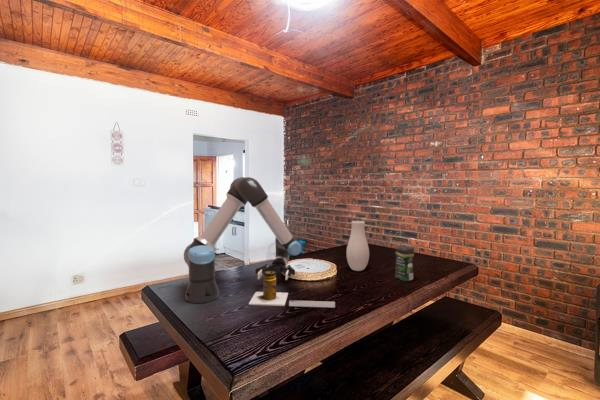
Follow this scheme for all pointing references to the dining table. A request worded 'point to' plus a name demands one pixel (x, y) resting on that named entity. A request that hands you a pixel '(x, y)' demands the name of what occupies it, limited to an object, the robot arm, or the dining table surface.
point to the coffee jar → (404, 263)
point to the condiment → (269, 287)
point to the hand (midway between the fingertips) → (272, 276)
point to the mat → (276, 302)
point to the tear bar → (311, 303)
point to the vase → (357, 247)
